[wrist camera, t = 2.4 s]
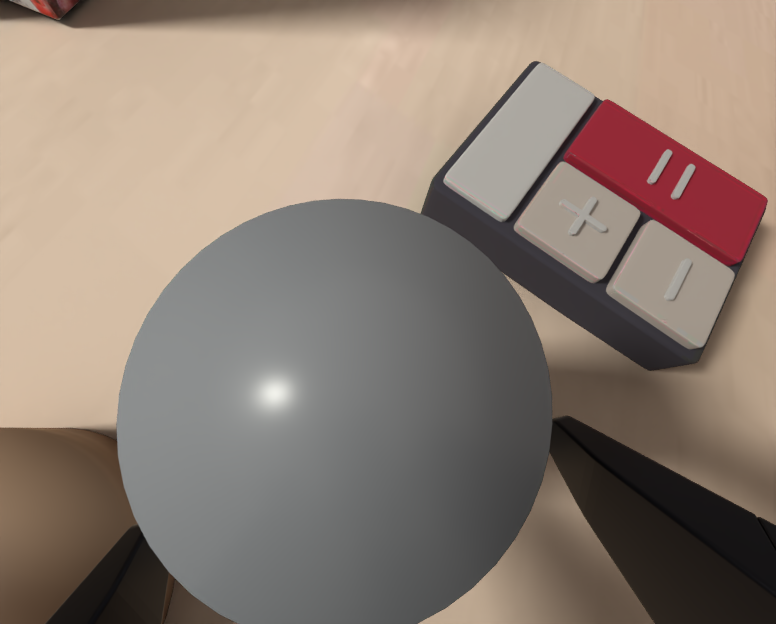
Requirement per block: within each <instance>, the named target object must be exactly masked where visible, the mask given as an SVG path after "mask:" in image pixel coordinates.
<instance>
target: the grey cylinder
mask: <svg viewBox="0 0 776 624" xmlns="http://www.w3.org/2000/svg"><path fill="white" fill-rule="evenodd" d="M551 431H552V392H551V385H550V378H549V371H548V366H547V362H546V358H545V355H544V351H543V347H542V344H541V341H540V338H539V336H538V333H537V331H536V328H535V326H534V323H533V321H532V318H531V316H530V315H529V313H528V311H527V309H526V307H525V306H524V304H523V302H522V300H521V298H520V297H519V295H518V294H517V292H516V291H515V289H514V288H513V287H512V285H511V284H510V282H509V281H508V280H507V278H506V277H505V276H504V274H503V273H502V272H501V271H500V270H499V269H498V268H497V267H496V266H495V265H494V264H493V262H492V261H491V260H490V259H489V258H488V257H487V256H486V255H485V254H483V253H482V252H481V251H480V250H479V249H478V248H476V247H475V246H474V245H473V244H472V243H471V242H469V241H468V240H466V239H465V238H464V237H462V236H461V235H459V234H458V233H456V232H455V231H453V230H452V229H450V228H448V227H447V226H445V225H443V224H441V223H439V222H437V221H435V220H433V219H431V218H429V217H427V216H424V215H422V214H419V213H416V212H414V211H411V210H409V209H406V208H402V207H398V206H394V205H390V204H386V203H381V202H374V201H367V200H355V199H331V200H319V201H310V202H305V203H300V204H295V205H290V206H287V207H283V208H280V209H277V210H274V211H271V212H268V213H265V214H263V215H260V216H258V217H256V218H253V219H251V220H249V221H247V222H244V223H242V224H241V225H239V226H237V227H235V228H234V229H232V230H230V231H229V232H227V233H225V234H223V235H222V236H220V237H219V238H218V239H216V240H215V241H214V242H212V243H211V244H210V245H208V246H207V247H205V248H204V249H203V250H201V251H200V252H199V253H198V254H197V255H196V256H195V257H194V258H193V259H192V260H191V261H189V262H188V263H187V264H186V265H185V266H184V267H183V268H182V269H181V270H180V271H179V272H178V274H177V275H176V276H175V277H174V278H173V279H172V281H171V282H170V283H169V284H168V285H167V287H166V288H165V289H164V290H163V292H162V293H161V295H160V296H159V298H158V299H157V301H156V302H155V304H154V305H153V307H152V308H151V310H150V311H149V313H148V314H147V316H146V318H145V320H144V322H143V324H142V326H141V328H140V330H139V332H138V334H137V336H136V338H135V341H134V344H133V347H132V349H131V352H130V355H129V358H128V361H127V363H126V366H125V371H124V375H123V380H122V384H121V389H120V393H119V403H118V414H117V445H118V458H119V464H120V469H121V474H122V480H123V485H124V489H125V491H126V494H127V497H128V500H129V503H130V506H131V509H132V512H133V515H134V517H135V519H136V521H137V523H138V525H139V527H140V529H141V531H142V533H143V535H144V537H145V538H146V540H147V542H148V544H149V546H150V547H151V549H152V550H153V551H154V553H155V554H156V555H157V557H158V558H159V560H160V561H161V562H162V564H163V565H164V566H165V568H166V569H167V570H168V572H169V573H170V574H171V575H172V576H173V577H174V578H175V579H176V580H177V581H178V582H179V583H180V584H181V585H182V586H183V587H184V588H185V589H186V590H187V591H189V592H190V593H191V594H192V595H193V596H194V597H196V598H197V599H198V600H200V601H201V602H203V603H204V604H205V605H207V606H208V607H210V608H211V609H212V610H214V611H215V612H217V613H218V614H219V615H221V616H224V617H226V618H228V619H230V620H232V621H234V622H236V623H238V624H418V623H419V622H421V621H423V620H425V619H427V618H429V617H430V616H432V615H434V614H436V613H438V612H440V611H441V610H443V609H445V608H447V607H448V606H449V605H451V604H452V603H453V602H455V601H456V600H457V599H459V598H460V597H461V596H463V595H464V594H465V593H467V592H468V591H469V590H471V589H472V588H473V587H474V586H475V585H476V584H477V583H478V582H479V581H480V580H481V579H482V578H483V577H484V576H485V575H486V574H487V573H488V572H489V571H490V570H491V569H492V568H493V567H494V566H495V565H496V564H497V562H498V561H499V560H500V558H501V557H502V556H503V554H504V553H505V552H506V550H507V549H508V548H509V546H510V545H511V544H512V542H513V541H514V540H515V538H516V536H517V535H518V533H519V531H520V529H521V527H522V526H523V524H524V522H525V520H526V518H527V517H528V515H529V513H530V511H531V509H532V506H533V504H534V501H535V498H536V496H537V493H538V491H539V488H540V486H541V483H542V480H543V476H544V471H545V467H546V463H547V459H548V455H549V449H550V440H551Z"/></svg>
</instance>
